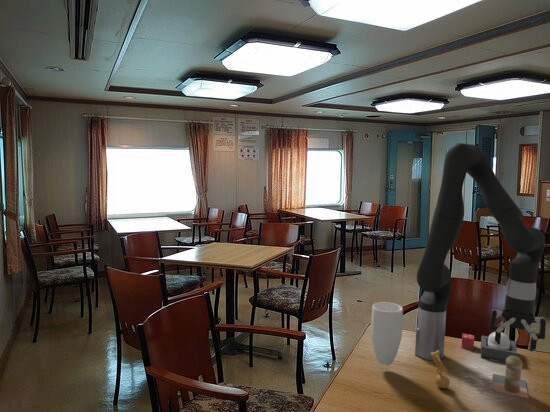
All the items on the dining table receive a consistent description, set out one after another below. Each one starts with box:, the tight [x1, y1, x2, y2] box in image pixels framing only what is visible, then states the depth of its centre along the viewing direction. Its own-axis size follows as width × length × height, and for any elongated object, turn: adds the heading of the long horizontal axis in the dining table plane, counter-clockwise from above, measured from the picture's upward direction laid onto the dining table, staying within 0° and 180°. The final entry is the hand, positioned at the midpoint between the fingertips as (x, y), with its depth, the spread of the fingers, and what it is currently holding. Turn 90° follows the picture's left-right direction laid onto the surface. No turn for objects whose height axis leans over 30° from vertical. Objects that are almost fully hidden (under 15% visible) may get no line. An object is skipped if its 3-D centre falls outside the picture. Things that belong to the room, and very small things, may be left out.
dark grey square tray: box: [480, 335, 518, 364], centre depth 149 cm, size 11×11×4 cm
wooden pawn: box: [504, 355, 524, 393], centre depth 125 cm, size 4×4×10 cm
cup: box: [370, 301, 404, 366], centre depth 135 cm, size 10×10×22 cm
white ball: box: [488, 331, 511, 350], centre depth 149 cm, size 7×7×7 cm
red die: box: [460, 333, 475, 351], centre depth 155 cm, size 4×4×4 cm
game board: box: [492, 373, 529, 400], centre depth 128 cm, size 9×11×1 cm
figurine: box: [430, 350, 450, 389], centre depth 126 cm, size 8×6×12 cm
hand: (514, 346), depth 124 cm, fingers open, 8 cm apart
